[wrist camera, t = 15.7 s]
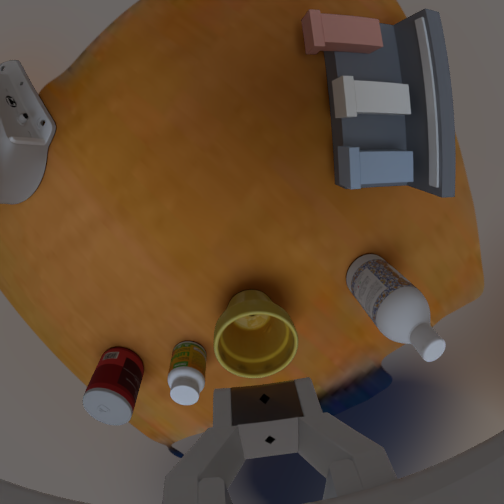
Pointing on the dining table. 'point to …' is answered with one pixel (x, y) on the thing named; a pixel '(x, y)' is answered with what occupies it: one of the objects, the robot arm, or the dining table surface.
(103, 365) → the canned food
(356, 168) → the slate-blue key
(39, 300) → the dining table surface
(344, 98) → the ivory key
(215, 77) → the dining table surface
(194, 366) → the supplement bottle
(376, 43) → the terracotta key
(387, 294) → the bath foam
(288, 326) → the plant pot
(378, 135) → the console
